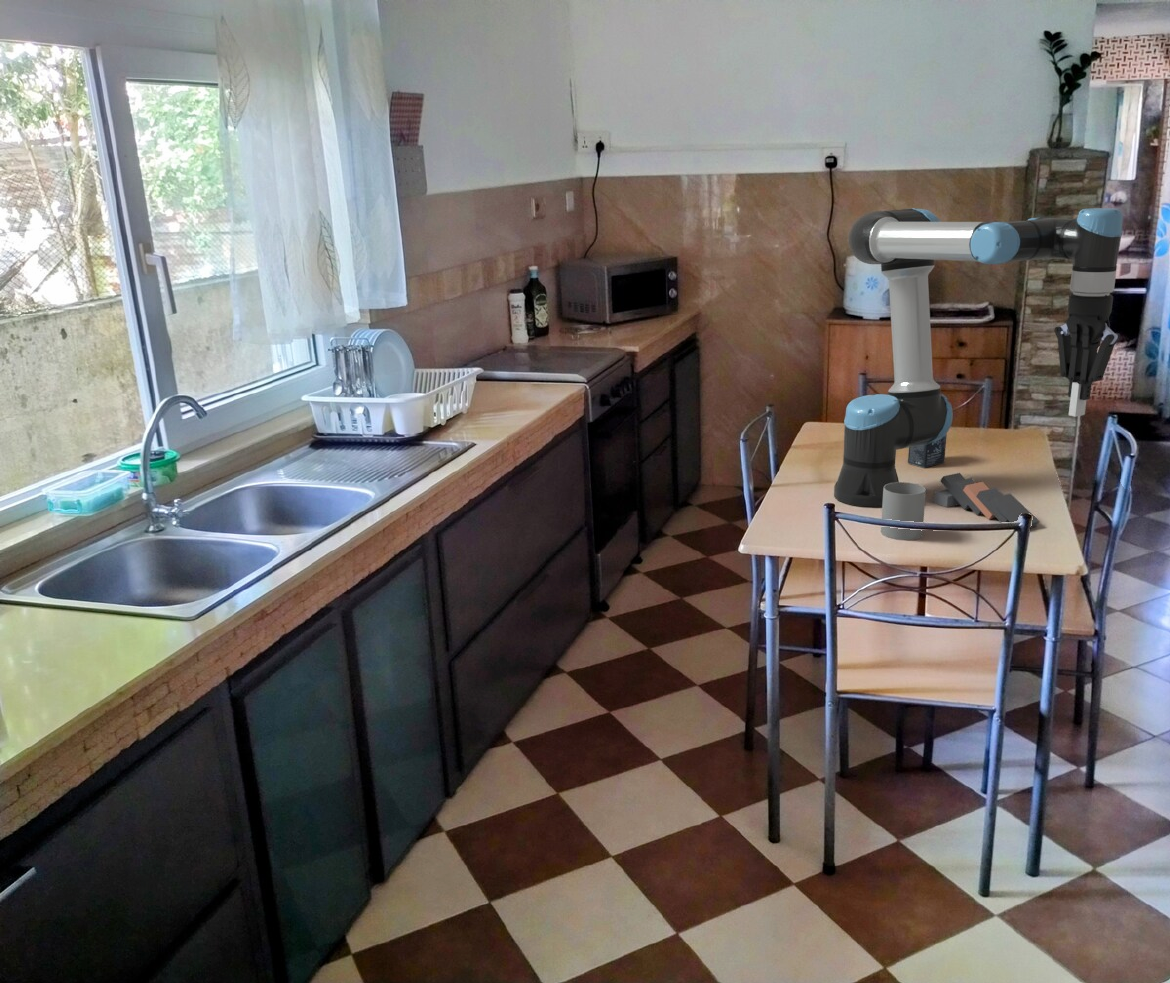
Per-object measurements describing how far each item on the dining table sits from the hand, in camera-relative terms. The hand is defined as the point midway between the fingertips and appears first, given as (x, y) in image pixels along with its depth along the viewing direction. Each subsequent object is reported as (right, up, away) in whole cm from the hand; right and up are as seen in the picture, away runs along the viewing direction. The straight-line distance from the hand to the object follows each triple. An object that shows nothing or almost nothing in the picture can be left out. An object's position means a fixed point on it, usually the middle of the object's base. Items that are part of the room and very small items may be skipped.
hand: (1076, 414), depth 197 cm
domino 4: (-4, -21, +18) cm, 28 cm away
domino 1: (-9, -18, +28) cm, 34 cm away
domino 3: (-6, -20, +22) cm, 30 cm away
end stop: (-12, -17, +33) cm, 39 cm away
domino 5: (-3, -22, +15) cm, 27 cm away
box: (-8, -8, +62) cm, 63 cm away
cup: (-29, -24, +15) cm, 41 cm away
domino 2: (-8, -19, +24) cm, 32 cm away
